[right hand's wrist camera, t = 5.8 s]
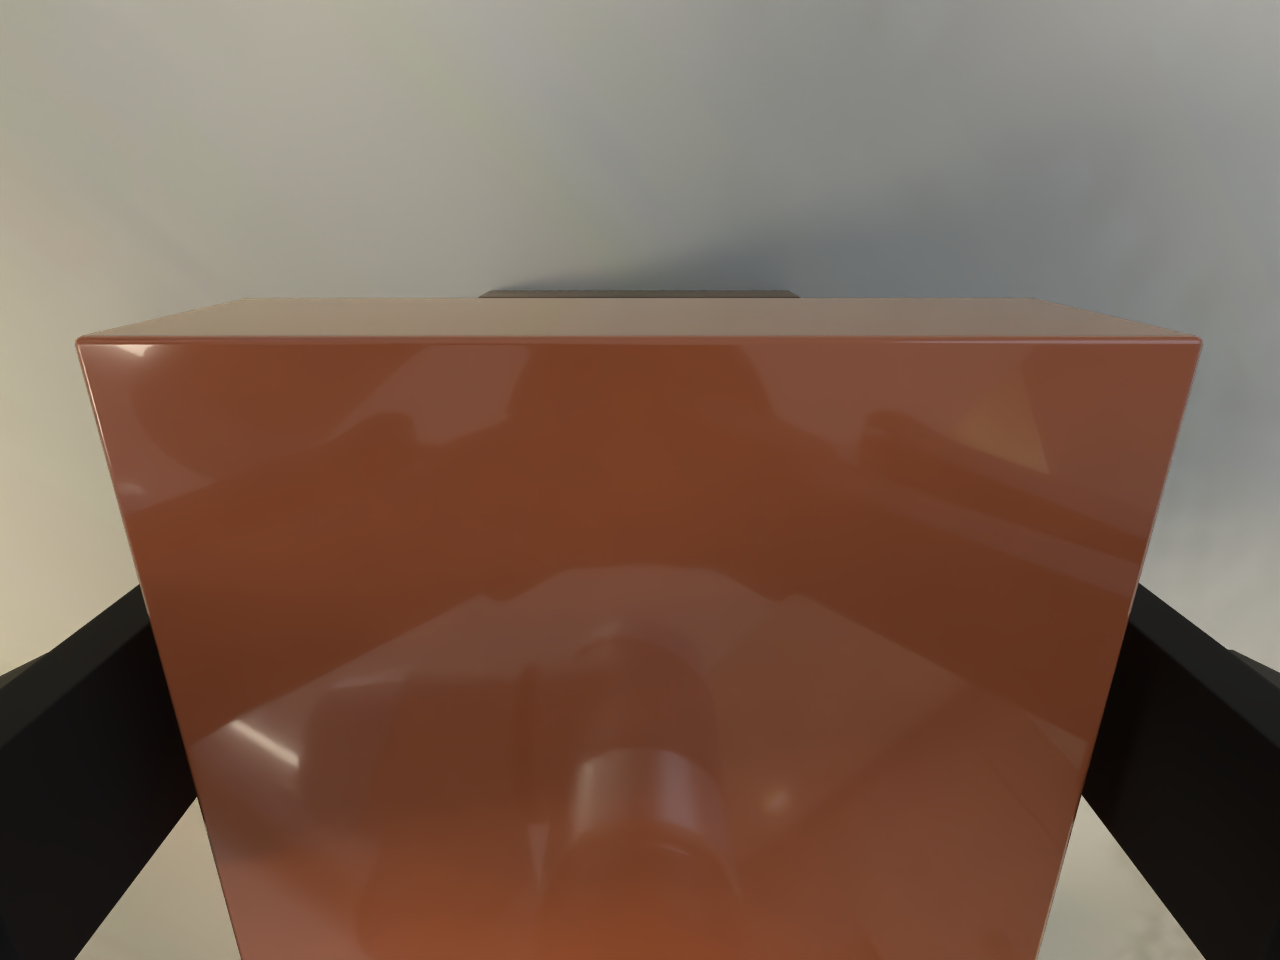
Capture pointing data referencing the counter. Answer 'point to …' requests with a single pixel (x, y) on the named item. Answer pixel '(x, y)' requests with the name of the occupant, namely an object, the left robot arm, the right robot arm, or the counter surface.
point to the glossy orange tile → (639, 612)
